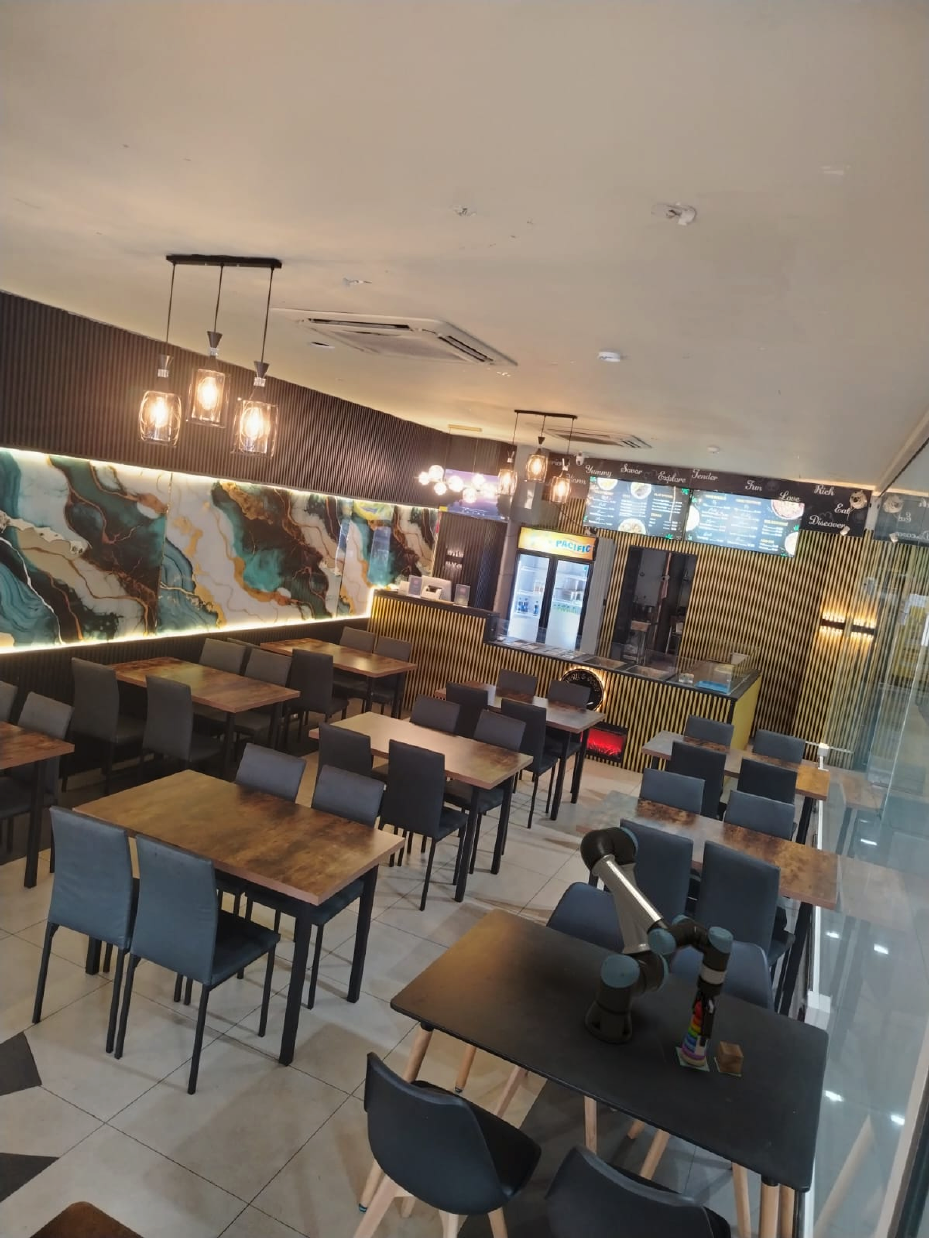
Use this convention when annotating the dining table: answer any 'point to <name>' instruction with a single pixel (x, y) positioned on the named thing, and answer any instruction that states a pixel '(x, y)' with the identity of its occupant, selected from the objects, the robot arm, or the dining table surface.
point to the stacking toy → (693, 1040)
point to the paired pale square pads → (702, 1067)
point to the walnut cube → (729, 1058)
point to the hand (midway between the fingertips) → (695, 1044)
